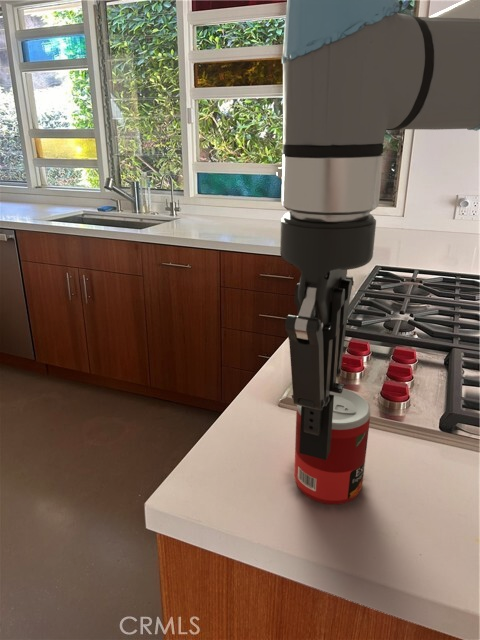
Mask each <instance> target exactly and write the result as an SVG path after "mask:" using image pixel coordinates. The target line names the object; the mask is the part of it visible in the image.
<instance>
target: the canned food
mask: <svg viewBox="0 0 480 640" xmlns="http://www.w3.org/2000/svg"><path fill="white" fill-rule="evenodd" d="M330 395H334V403H333V417H332V431H331V445H330V453H329V455H328V457H327V459H326V460H323V459H319V458H316V457H312V456H308V455H305V454H301V453H299V451H300V426H301V406H300V405H296V414H295V442H294V443H295V444H294V446H295V447H294V473H293V475H294V480H295V483H296V485H297V488H298V489H299V491H300V492H301V493H302V494H303V495H305V496H306V497H307V498H309V499H311V500H313V501H315V502H317V503H321V504H326V505H342V504H347V503H349V502H351V501H353V500H354V499H355V498H356V497H358V495H359V493H360V491H361V490H362V488H363V481H364V473H365V465H366V456H367V448H368V440H369V439H368V438H369V430H370V423H371V422H370V420H371V406H370V404H369V402H368V401H367V400H366V398H365V397H363V396H362V395H361V394H358V393H356V392H355V391H353V390H350V389H347V388H343V391H342V393H341V394H340V393H335V392H330Z"/></svg>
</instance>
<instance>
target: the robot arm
mask: <svg viewBox="0 0 480 640" xmlns="http://www.w3.org/2000/svg"><path fill="white" fill-rule="evenodd" d="M400 5H401V3H400V2H399V0H287V1H286V10H285V11H286V12H285V19H284V31H283V48H282V56H281V64H282V164H281V165H282V166H281V167H278V169H277V171H276V177H277V178H278V180H281V181H282V184H281V205H282V207H283V208H284V209H285V210H287V211H288V212H286V213H285V214H284V215H282V217H281V218H280V247H279V249H280V250H279V252H280V253H279V254H280V257H281V259H282V260H283V261H284V262H285V263H287V264H288V265H291V266H295V267H296V268H297V269H298V270H299V272H300V274H301V275H300V276H299V282H298V283H297V282H296V283H297V284H296V286H295V289H294V303H295V305H296V307H297V308H296V315H292V314H288V315H287V316H286V317H285V321H284V327H285V331H286V335H287V338H288V341H289V342H288V343H289V357H290V371H291V373H290V374H291V387H292V394H291V399H292V400H293V404H294V405H296V406H297V405H300V406H301V426H300V451H299V453H301V454H305V455H308V456H312V457H316V458H319V459H323V460H326V459H327V457H328V455H329V453H330V445H331V431H332V417H333V403H334V395H330V392H335V393H340V394H341V393H342V391H343V389H344V383H343V384H342V383H338V382H337V378H339V377H340V376H341V374H342V364H343V356H344V355H343V354H344V346H345V339H346V330H347V322H348V315H349V307H350V299H351V295H352V290H353V287H354V283H355V281H354V276H350V275H348V271H349V270H354V269H355V270H356V269H359V268H362V267H364V266H366V265H368V264H369V263H370V262H371V261H372V259H373V257H374V248H375V237H376V228H377V226H376V225H377V220H376V218H375V217H374V215H373V214H371V212H373V211H374V210H376V209H377V208H379V205H380V195H381V185H382V184H381V182H382V172H383V162H384V154H383V153H384V143H385V138H386V137H385V136H386V131H399V130H429V131H430V130H431V131H432V130H433V131H434V130H435V131H436V130H437V131H438V130H468V131H476V132H478V131H480V0H462V1H459V2H458V3H456V4H453V5H451V6H449V7H447V8H445V9H443V10H440V11H439V12H436V13H434V14H432V15H430V16H415V15H409V14H405V13H399V11H400Z"/></svg>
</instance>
